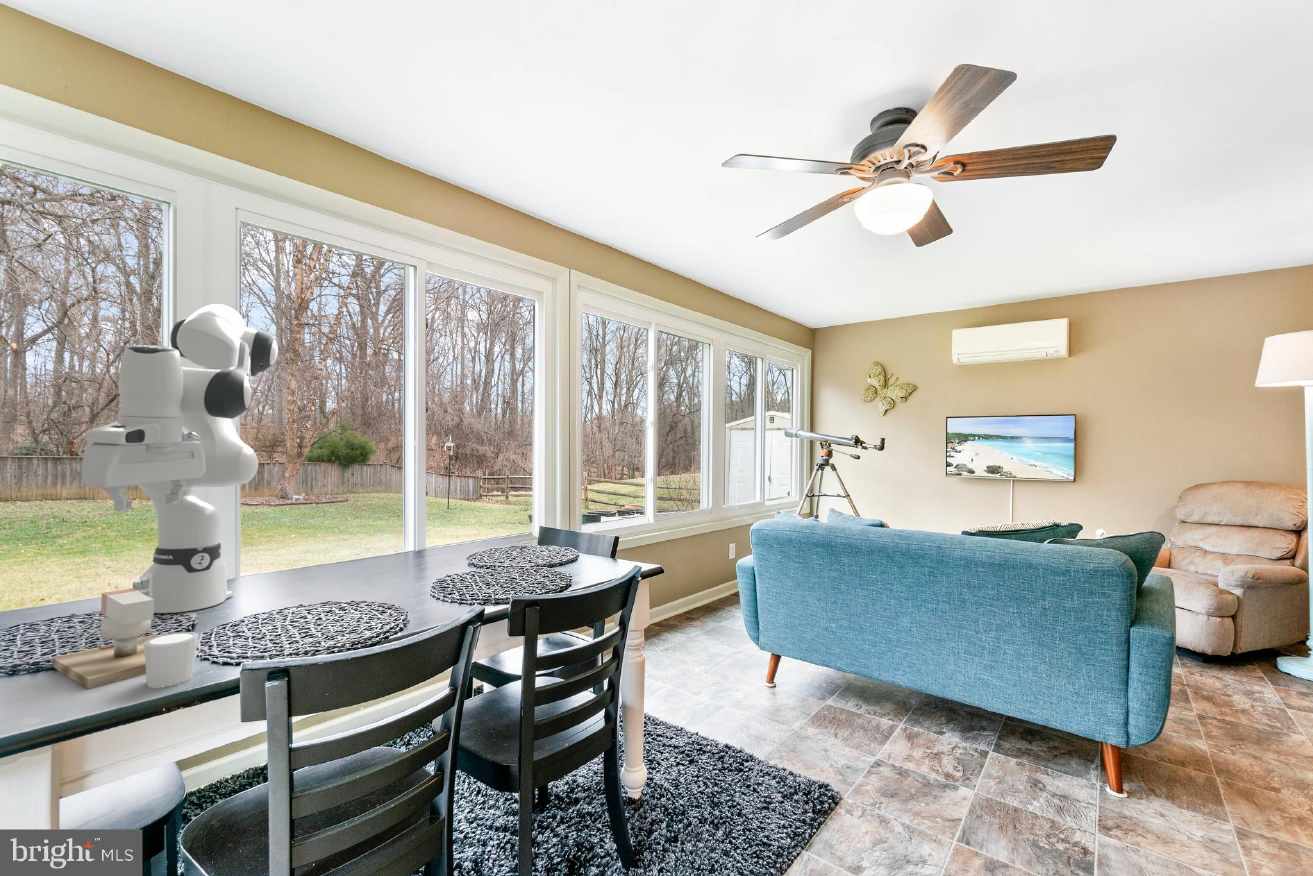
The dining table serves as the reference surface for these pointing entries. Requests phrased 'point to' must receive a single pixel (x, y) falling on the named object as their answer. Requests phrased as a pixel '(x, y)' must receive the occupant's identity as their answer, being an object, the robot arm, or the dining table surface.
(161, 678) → the white tapered cup
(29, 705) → the dining table surface
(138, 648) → the base plate
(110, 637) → the orange-ended white bar
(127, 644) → the post
